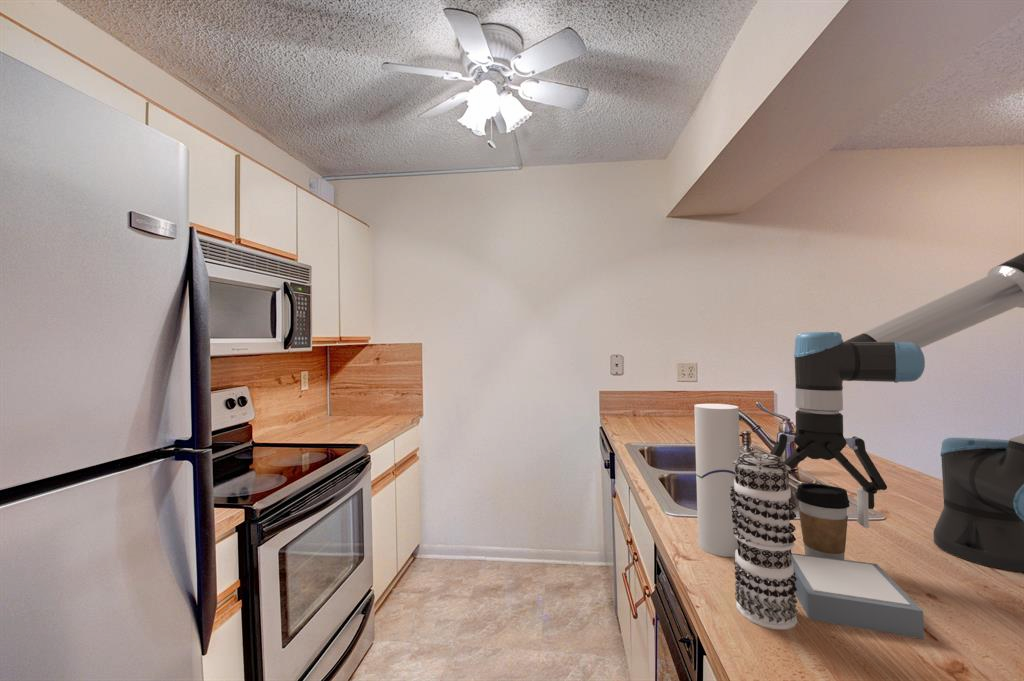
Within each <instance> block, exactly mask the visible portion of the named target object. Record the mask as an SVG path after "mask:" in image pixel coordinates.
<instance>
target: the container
mask: <svg viewBox="0 0 1024 681" xmlns="http://www.w3.org/2000/svg"><path fill="white" fill-rule="evenodd" d="M693 406H694V407H693V408H694V409H693V410H694V412H693V413H694V441H695V473H696V474H695V475H696V476H695V478H696V479H695V480H696V512H697V542H698V543H697V544H698V547H699V548H700V550H703V551H704V552H706V553H709V554H711V555H714V556H719V557H724V558H735V550H736V549H738V546H737V538H736V537H735V536H734V533H733V532H734V530H733V527H734V526H735V523H734V522H732V514H733V513H732V509H731V505H733V501H732V500H731V499H730V497H731V496H730V493H731V492H732V491H731V490H730V489H731V488H730V487H732V486H734V480H735V465H734V464H733V461H735V460H737V459H738V458H739V456H740V455H741V449H740V448H741V447H740V446H741V440H740V415H739V414H740V411H739V410H740V409H739V406H737V405H733V404H727V403H726V404H725V403H697V404H694V405H693ZM734 489H735V488H734ZM735 497H736V500H737V496H736V495H735ZM736 508H737V507H736ZM737 520H738V519H737Z"/></svg>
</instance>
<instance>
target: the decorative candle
mask: <svg viewBox="0 0 1024 681" xmlns="http://www.w3.org/2000/svg"><path fill="white" fill-rule="evenodd" d="M733 464H734V465H735V480H734V486H732V487H730V488H731V489H730V490H731V491H732V492H731V493H730V496H731V497H730V499H731V500H732V501H733V505H731V509H732V513H733V514H732V522H734V523H735V526H734V527H733V530H734V532H733V533H734V536H735V537H736V538H737V546H738V549H737V550H736V551H737V561H735V560H734V569H735V571H734V575H735V576H734V578H735V582H734V586H735V587H734V588H735V592H734V595H735V602H736V610H737V611H738V612H739V614H740V615H741V616H743V617H744V618H745V619H746V620H748V621H749V622H752V623H754V624H756V625H759V626H760V627H763V628H767V629H772V630H790V629H793V628H794V627H796V625H797V624H798V619H797V614H798V613H799V611H798V609H797V605H796V604H797V603H798V600H799V599H798V598H797V595H796V594H795V592H794V591H797V588H796V587H795V582H794V581H796V580H797V578H796V577H795V573H794V572H793V562H792V560H791V557H792V556H791V554H792V553H793V552H792V549H793V548H795V546H796V545H795V542H796V541H797V538H796V537H795V535H794V534H793V533H794V532H795V531H796V526H795V525H794V524H793V523H791V522H790V521H791V520H792V521H793V520H794V519H796V518H797V514H796V513H795V512H794V511H792V510H794V509H796V507H797V504H796V503H795V502H794V501H792V500H791V497H792V494H791V493H792V492H791V487H790V483H789V482H790V478H789V477H790V476H789V473H790V472H789V470H791V468H790V467H789V466H787V465H785V464H784V460H783V459H782V458H781V457H778V456H775V455H772V454H770V453H766V452H759V451H755V452H752V451H750V452H744V453H741V454H740V456H739V458H738V459H737V460H735V461H733ZM791 471H792V470H791ZM788 472H789V473H788ZM734 488H735V489H734ZM735 495H736V496H737V500H736V497H735ZM736 507H737V508H736ZM737 519H738V520H737ZM736 570H737V571H736Z"/></svg>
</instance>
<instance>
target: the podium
mask: <svg viewBox="0 0 1024 681" xmlns="http://www.w3.org/2000/svg"><path fill="white" fill-rule="evenodd" d="M791 553H792V554H791V556H792V557H791V560H792V562H793V572H794V573H795V577H796V578H797V580H796V581H794V582H795V587H796V588H797V591H794V594H796V598H797V600H799V603H800V604H801V606H802V608H803V610H804V613H805V615H807V616H806V617H807V618H808V619H809V620H810V621H813V622H814V621H816V622H822V623H826V624H827V623H828V624H832V625H833V624H834V625H839V626H845V627H851V628H854V629H855V628H857V629H862V630H868V631H873V632H874V631H875V632H880V633H885V634H892V635H896V636H897V635H899V636H903V637H908V638H909V637H910V638H916V639H920V640H921V639H922V640H925V629H924V627H925V626H924V624H925V623H924V610H922V609H921V608H920V606H918V605H917V603H915V601H913V599H911V598H910V596H909V595H908V594H907V593H906V592H905V591H904V590H903V589H902V588H901V586H899V585H898V584H897V583H896V582H895V581H894V580H893V579H892V578H891V576H889V575H888V574H887V573H886V572H885V571H884V570H883V568H881V567H880V565H878V563H873V562H871V563H870V562H863V561H858V560H857V561H856V560H849V559H844V560H842V559H834V558H826V557H818V556H810V555H805V554H800V553H793V552H791Z"/></svg>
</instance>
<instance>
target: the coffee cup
mask: <svg viewBox="0 0 1024 681" xmlns="http://www.w3.org/2000/svg"><path fill="white" fill-rule="evenodd" d="M795 495H796V496H795V498H796V500H798V504H799V507H798V514H799V522H800V529H801V535H802V542H803V546H804V547H803V548H804V555H810V556H818V557H826V558H834V559H842V560H845V552H846V547H847V546H846V544H847V543H846V542H847V533H848V532H847V531H848V520H849V519H848V518H849V517H848V516H849V515H848V514H847V512H848V508H849V507H850V500H849V496H848V491H847V490H846V489H845V488H843V487H839V486H834V485H827V484H822V483H809V482H808V483H807V482H806V483H800V484H798V485H797V489H796V492H795Z"/></svg>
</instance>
